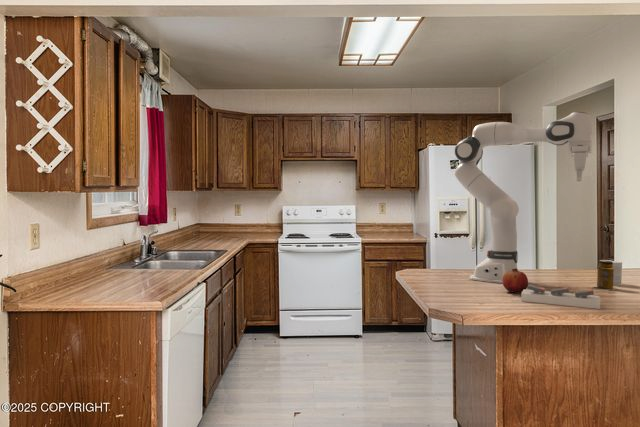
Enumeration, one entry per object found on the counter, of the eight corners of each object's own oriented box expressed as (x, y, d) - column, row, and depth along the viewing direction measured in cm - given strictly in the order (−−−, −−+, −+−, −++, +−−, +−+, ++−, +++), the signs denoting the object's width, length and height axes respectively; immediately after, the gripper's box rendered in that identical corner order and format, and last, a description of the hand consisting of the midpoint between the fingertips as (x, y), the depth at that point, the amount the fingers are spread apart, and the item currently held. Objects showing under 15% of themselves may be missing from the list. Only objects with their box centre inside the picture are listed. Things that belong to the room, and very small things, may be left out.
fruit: (528, 295, 192) (529, 271, 192) (502, 294, 196) (502, 269, 195) (527, 291, 202) (527, 267, 202) (501, 289, 206) (502, 266, 205)
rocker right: (575, 296, 175) (574, 292, 175) (575, 294, 179) (574, 290, 179) (594, 294, 172) (593, 290, 172) (593, 292, 176) (592, 288, 176)
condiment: (617, 289, 207) (618, 261, 207) (607, 291, 203) (608, 263, 202) (599, 286, 213) (600, 259, 213) (589, 288, 209) (590, 261, 208)
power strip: (521, 301, 183) (521, 292, 182) (523, 296, 190) (523, 288, 190) (600, 308, 170) (600, 299, 170) (599, 303, 178) (599, 294, 178)
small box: (598, 282, 223) (598, 260, 222) (609, 282, 223) (610, 259, 223) (609, 285, 215) (610, 262, 214) (621, 285, 215) (622, 262, 215)
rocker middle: (551, 294, 179) (550, 290, 179) (551, 292, 182) (550, 288, 182) (569, 292, 176) (568, 288, 176) (569, 290, 180) (568, 286, 180)
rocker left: (527, 288, 183) (528, 285, 183) (528, 287, 186) (529, 283, 186) (544, 293, 180) (545, 290, 180) (544, 291, 184) (545, 288, 183)
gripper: (571, 151, 220) (571, 181, 221) (571, 147, 202) (570, 180, 203) (587, 151, 217) (586, 181, 218) (588, 146, 199) (587, 180, 200)
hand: (579, 181), depth 210 cm, fingers open, 8 cm apart
